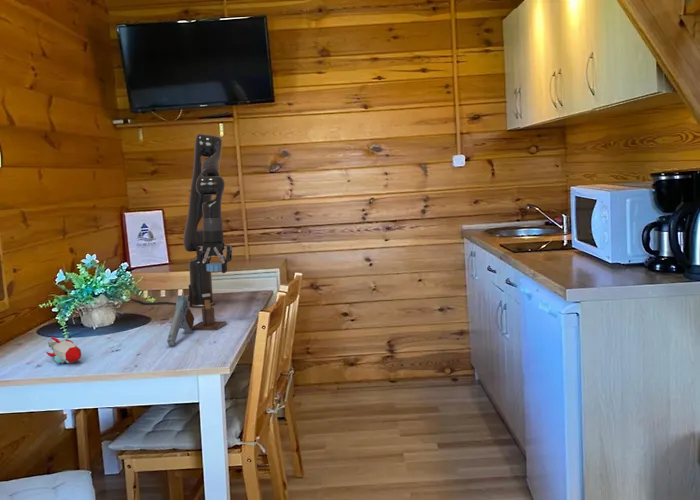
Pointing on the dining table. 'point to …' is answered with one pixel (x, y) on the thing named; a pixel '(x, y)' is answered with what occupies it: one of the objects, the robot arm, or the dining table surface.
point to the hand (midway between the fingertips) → (215, 272)
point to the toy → (64, 351)
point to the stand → (208, 319)
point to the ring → (214, 267)
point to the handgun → (181, 319)
